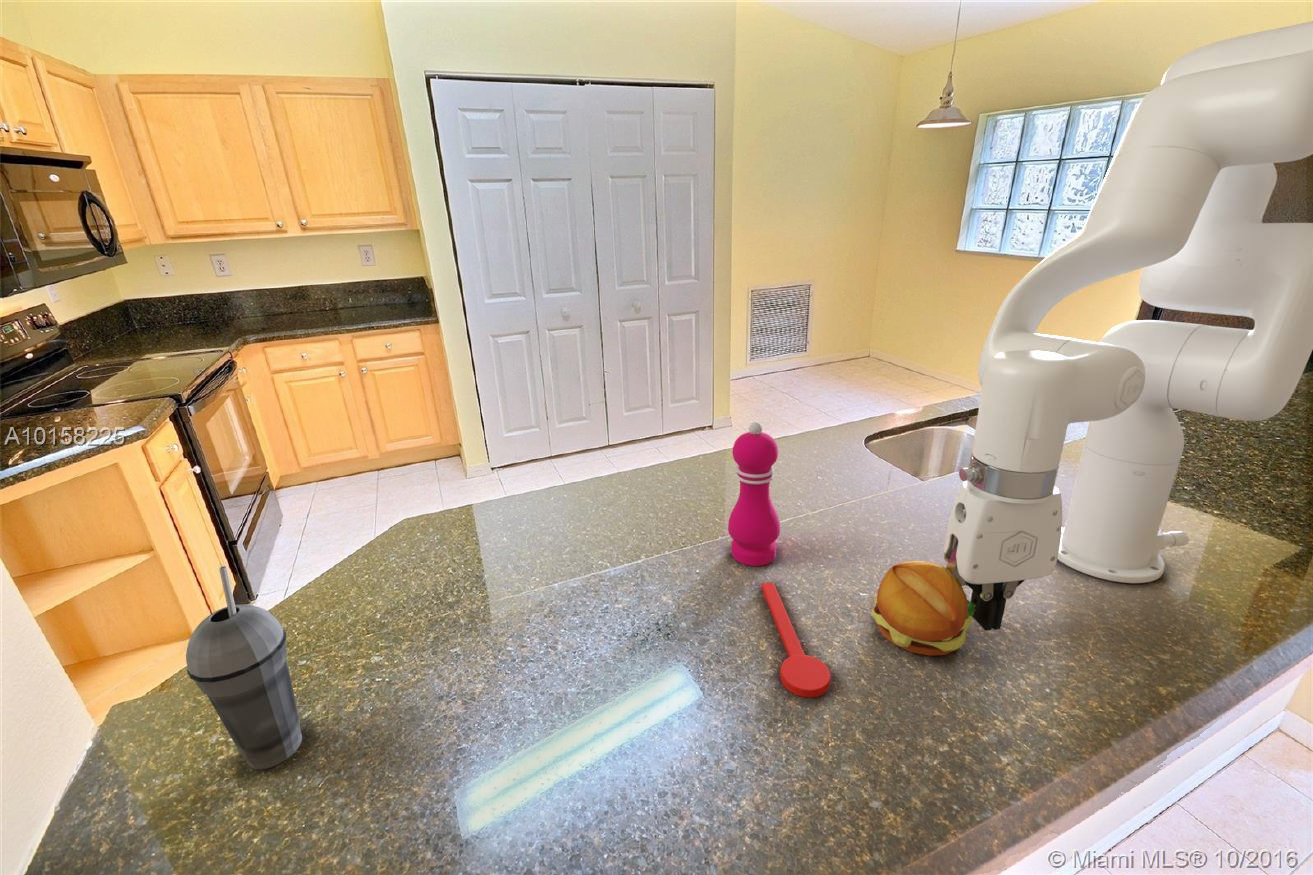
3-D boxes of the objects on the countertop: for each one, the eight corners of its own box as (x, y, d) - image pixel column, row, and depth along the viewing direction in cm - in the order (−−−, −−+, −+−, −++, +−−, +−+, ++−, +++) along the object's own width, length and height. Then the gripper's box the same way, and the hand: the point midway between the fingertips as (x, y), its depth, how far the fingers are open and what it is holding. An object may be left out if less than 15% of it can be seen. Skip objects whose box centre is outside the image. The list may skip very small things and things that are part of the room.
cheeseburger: (971, 615, 68) (985, 554, 62) (961, 692, 60) (975, 631, 55) (881, 590, 73) (886, 532, 67) (861, 659, 65) (865, 600, 60)
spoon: (786, 586, 75) (786, 579, 75) (837, 695, 58) (837, 688, 57) (748, 589, 75) (748, 582, 74) (787, 700, 57) (788, 692, 57)
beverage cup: (256, 721, 58) (191, 548, 51) (331, 713, 58) (276, 542, 51) (210, 787, 51) (127, 599, 44) (295, 778, 51) (226, 591, 44)
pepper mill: (779, 570, 78) (784, 432, 71) (725, 566, 80) (725, 430, 73) (779, 542, 85) (783, 413, 78) (730, 539, 86) (730, 412, 79)
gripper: (961, 498, 54) (938, 652, 61) (1111, 483, 55) (1072, 637, 62) (920, 466, 61) (904, 607, 68) (1054, 454, 62) (1024, 595, 69)
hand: (984, 621), depth 65 cm, fingers closed
